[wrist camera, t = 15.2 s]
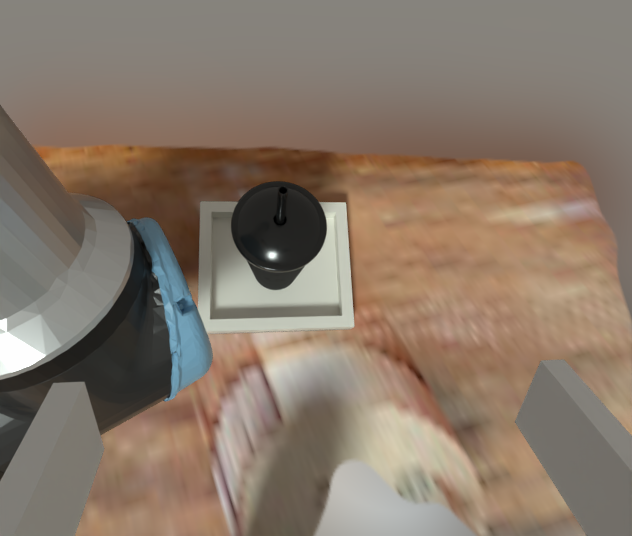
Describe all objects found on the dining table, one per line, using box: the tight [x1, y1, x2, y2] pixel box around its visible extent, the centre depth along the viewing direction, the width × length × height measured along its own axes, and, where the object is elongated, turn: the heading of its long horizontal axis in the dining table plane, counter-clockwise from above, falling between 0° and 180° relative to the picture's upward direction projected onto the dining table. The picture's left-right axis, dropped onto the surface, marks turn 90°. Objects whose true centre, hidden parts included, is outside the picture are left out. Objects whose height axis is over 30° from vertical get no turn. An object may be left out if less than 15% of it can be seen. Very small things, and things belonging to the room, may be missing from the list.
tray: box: [198, 201, 354, 334], centre depth 47 cm, size 16×14×2 cm
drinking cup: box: [231, 181, 327, 290], centre depth 38 cm, size 8×8×20 cm
